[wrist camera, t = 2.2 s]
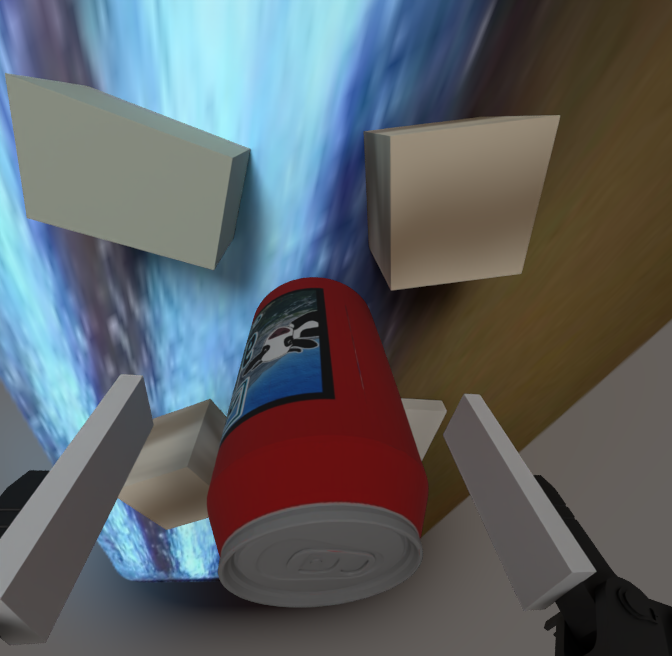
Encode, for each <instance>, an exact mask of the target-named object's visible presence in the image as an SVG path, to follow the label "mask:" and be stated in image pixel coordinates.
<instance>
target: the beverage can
mask: <svg viewBox="0 0 672 656" xmlns="http://www.w3.org/2000/svg"><path fill="white" fill-rule="evenodd" d="M427 500H428V480H427V476H426V473H425V470H424V467H423V464H422V461H421V458H420V455H419V452H418V449H417V446H416V443H415V440H414V437H413V434H412V431H411V428H410V425H409V421H408V418H407V415H406V412H405V409H404V406H403V403H402V400H401V397H400V395H399V392H398V389H397V386H396V383H395V380H394V377H393V374H392V371H391V369H390V366H389V363H388V360H387V357H386V354H385V351H384V348H383V345H382V343H381V340H380V337H379V334H378V332H377V329H376V326H375V324H374V321H373V318H372V315H371V313H370V310H369V308H368V306H367V304H366V303H365V301H364V300H363V299H362V298H361V297H360V296H359V295H358V294H357V293H356V292H355V291H354V290H352V289H351V288H350V287H348V286H346V285H344V284H342V283H340V282H337V281H334V280H331V279H326V278H318V277H310V278H301V279H296V280H293V281H290V282H287V283H285V284H283V285H281V286H279V287H277V288H276V289H274V290H273V291H272V292H270V293H269V294H268V295H267V296H266V297H265V298H264V299H263V301H262V302H261V303H260V305H259V307H258V308H257V310H256V313H255V316H254V319H253V322H252V326H251V329H250V333H249V336H248V340H247V343H246V347H245V350H244V354H243V358H242V362H241V365H240V369H239V373H238V377H237V380H236V384H235V388H234V391H233V395H232V399H231V403H230V406H229V410H228V414H227V418H226V422H225V426H224V430H223V434H222V438H221V442H220V446H219V450H218V454H217V458H216V462H215V466H214V470H213V474H212V478H211V482H210V486H209V490H208V494H207V512H208V517H209V520H210V524H211V527H212V531H213V535H214V538H215V542H216V545H217V549H218V553H219V556H220V561H219V567H218V575H219V579H220V581H221V583H222V584H223V585H224V587H225V588H226V589H228V590H229V591H230V592H232V593H233V594H235V595H237V596H239V597H241V598H244V599H246V600H249V601H252V602H256V603H261V604H266V605H272V606H281V607H320V606H328V605H337V604H342V603H348V602H352V601H357V600H361V599H365V598H368V597H371V596H374V595H377V594H380V593H382V592H385V591H387V590H389V589H391V588H393V587H395V586H397V585H399V584H400V583H402V582H404V581H405V580H407V579H408V578H409V577H410V576H412V575H413V574H414V573H415V572H416V570H417V569H418V568H419V566H420V564H421V562H422V559H423V549H422V545H421V541H420V538H421V533H422V528H423V522H424V517H425V511H426V505H427Z"/></svg>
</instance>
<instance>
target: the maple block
mask: <svg viewBox="0 0 672 656" xmlns="http://www.w3.org/2000/svg"><path fill="white" fill-rule="evenodd" d="M226 418H227V417H226V416H225V415H224V414H223V413H222V411H221V410H220V409H219V408H218V407H217V406H216V405H215V404H214V402H213V401H212V400H211V399H209V400H206V401H203V402H200V403H197V404H194V405H192V406H189V407H186V408H183V409H180V410H177V411H174V412H171V413H169V414H166V415H163V416H160V417H157V418H154V419H153V424H154V426H153V428H152V430H151V432H150V434H149V436H148V438H147V440H146V442H145V444H144V446H143V448H142V450H141V452H140V454H139V456H138V458H137V460H136V462H135V464H134V466H133V468H132V470H131V472H130V474H129V476H128V478H127V480H126V482H125V484H124V486H123V488H122V490H121V492H120V494H119V496H118V498H119V499H120V500H122V501H123V502H125V503H126V504H128V505H129V506H131V507H132V508H134V509H135V510H137V511H138V512H140V513H142V514H143V515H145V516H146V517H148V518H149V519H151V520H152V521H154V522H155V523H157V524H158V525H160V526H162V527H163V528H165V529H166V530H168V529H171V528H174V527H178V526H181V525H185V524H188V523H191V522H195V521H198V520H202V519H205V518H208V512H207V494H208V490H209V486H210V482H211V478H212V474H213V470H214V466H215V462H216V458H217V454H218V450H219V446H220V442H221V438H222V434H223V430H224V426H225V422H226Z"/></svg>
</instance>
